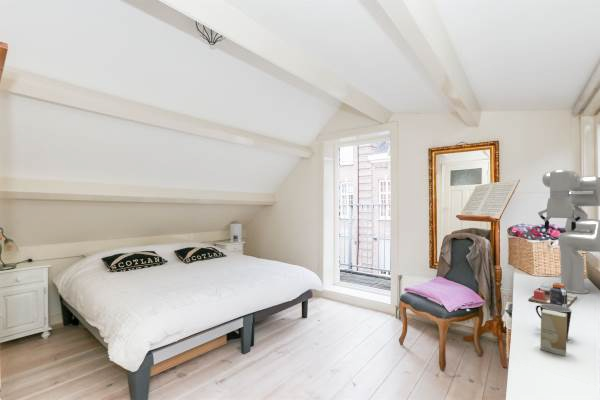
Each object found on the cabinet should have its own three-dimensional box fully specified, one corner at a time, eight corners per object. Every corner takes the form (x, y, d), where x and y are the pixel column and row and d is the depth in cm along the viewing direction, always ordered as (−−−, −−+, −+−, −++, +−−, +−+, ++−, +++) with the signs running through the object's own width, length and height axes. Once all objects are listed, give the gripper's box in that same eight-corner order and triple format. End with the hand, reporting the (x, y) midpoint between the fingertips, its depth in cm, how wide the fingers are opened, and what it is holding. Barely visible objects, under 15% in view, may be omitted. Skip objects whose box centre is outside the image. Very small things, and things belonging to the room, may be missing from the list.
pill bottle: (570, 312, 135) (570, 285, 135) (555, 311, 136) (554, 285, 136) (562, 307, 141) (561, 282, 141) (547, 306, 142) (546, 281, 142)
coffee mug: (576, 343, 105) (576, 313, 105) (545, 339, 107) (545, 310, 108) (561, 330, 115) (561, 303, 116) (533, 326, 118) (533, 300, 119)
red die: (535, 297, 154) (535, 288, 154) (545, 298, 151) (544, 290, 151) (533, 298, 151) (533, 290, 151) (543, 300, 148) (543, 291, 149)
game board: (541, 292, 166) (540, 286, 166) (577, 298, 155) (577, 292, 155) (528, 301, 150) (528, 294, 150) (567, 308, 139) (567, 302, 139)
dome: (541, 289, 163) (541, 281, 163) (552, 291, 159) (552, 283, 159) (538, 291, 160) (538, 283, 160) (550, 293, 156) (550, 284, 156)
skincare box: (540, 349, 100) (539, 311, 100) (542, 345, 103) (541, 308, 103) (566, 356, 95) (566, 316, 95) (567, 352, 98) (567, 313, 98)
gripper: (584, 195, 150) (584, 230, 150) (539, 195, 163) (540, 228, 163) (581, 194, 145) (582, 231, 145) (536, 195, 158) (536, 229, 158)
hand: (560, 229), depth 154 cm, fingers open, 9 cm apart
